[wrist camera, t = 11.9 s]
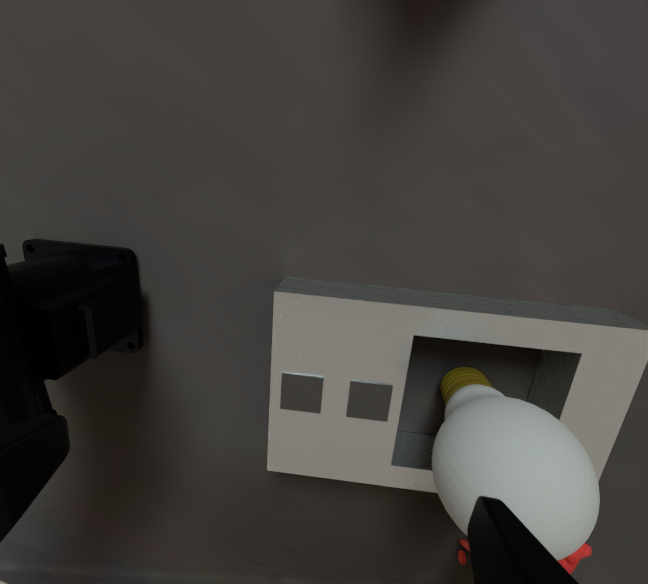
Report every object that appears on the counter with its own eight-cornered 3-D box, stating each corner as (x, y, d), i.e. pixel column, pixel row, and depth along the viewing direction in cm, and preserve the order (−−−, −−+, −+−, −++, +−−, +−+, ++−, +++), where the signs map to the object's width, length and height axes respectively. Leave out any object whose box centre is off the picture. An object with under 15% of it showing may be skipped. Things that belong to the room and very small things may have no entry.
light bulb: (402, 343, 21) (440, 483, 11) (507, 325, 20) (647, 462, 10) (417, 426, 22) (461, 610, 13) (515, 413, 21) (642, 602, 12)
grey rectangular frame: (277, 435, 23) (266, 471, 20) (285, 276, 20) (273, 292, 17) (555, 470, 22) (586, 514, 19) (613, 309, 19) (661, 332, 16)
